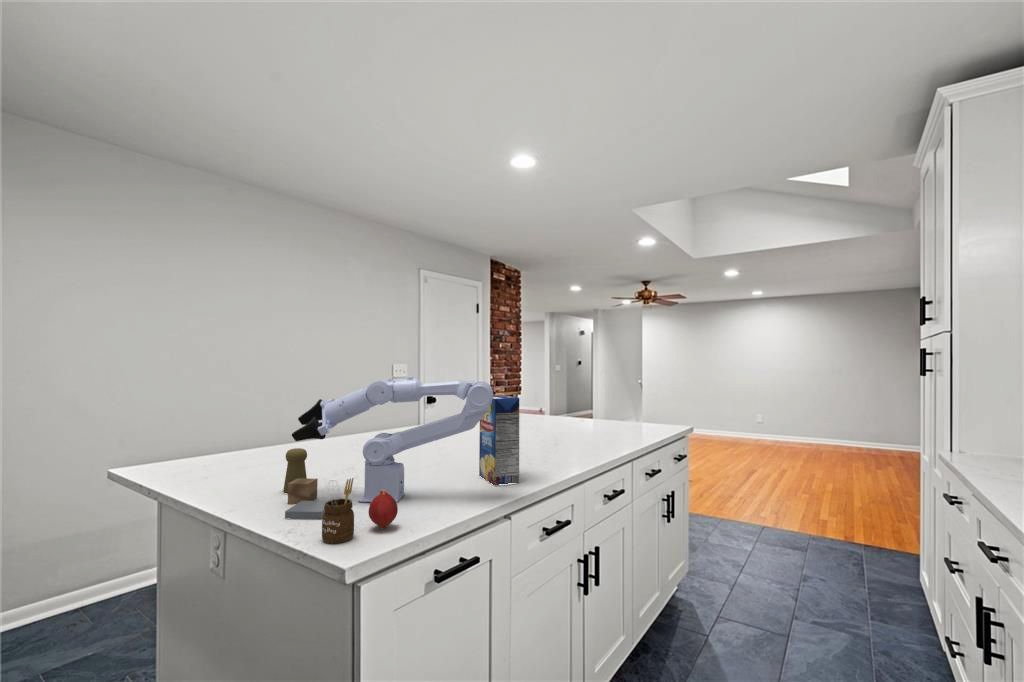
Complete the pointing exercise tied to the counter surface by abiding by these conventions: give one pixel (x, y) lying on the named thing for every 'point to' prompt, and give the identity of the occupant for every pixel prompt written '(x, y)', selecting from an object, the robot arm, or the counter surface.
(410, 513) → the counter surface
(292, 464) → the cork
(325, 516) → the utensil holder
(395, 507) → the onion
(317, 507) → the slate base
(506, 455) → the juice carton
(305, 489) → the walnut cube
